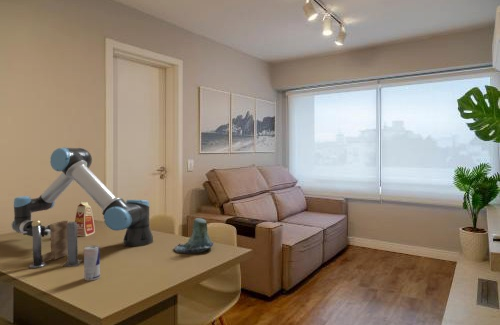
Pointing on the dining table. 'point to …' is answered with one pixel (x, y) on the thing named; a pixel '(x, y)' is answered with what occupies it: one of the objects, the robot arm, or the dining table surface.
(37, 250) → the hinge post
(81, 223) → the milk carton
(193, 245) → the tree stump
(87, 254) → the energy drink
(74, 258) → the dark grey bar
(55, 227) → the gate
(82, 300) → the dining table surface
